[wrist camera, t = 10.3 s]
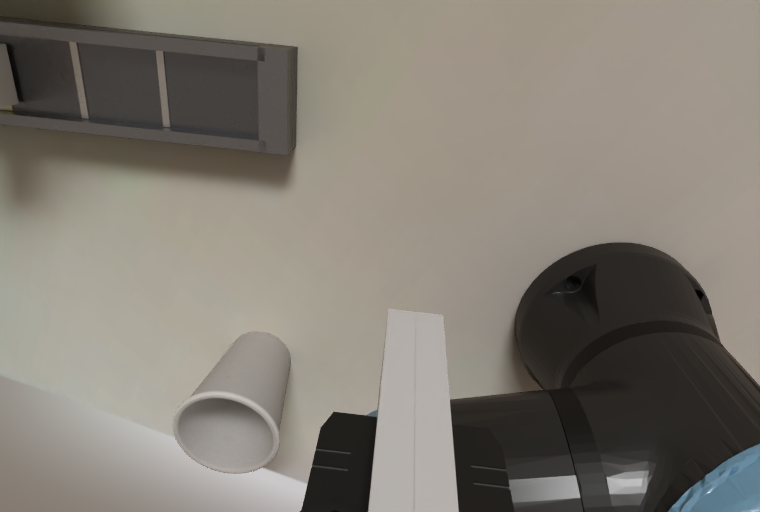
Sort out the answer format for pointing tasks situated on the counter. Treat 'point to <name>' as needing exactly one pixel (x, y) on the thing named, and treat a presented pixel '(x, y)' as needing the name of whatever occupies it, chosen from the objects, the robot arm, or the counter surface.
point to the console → (152, 86)
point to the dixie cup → (237, 407)
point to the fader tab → (6, 80)
